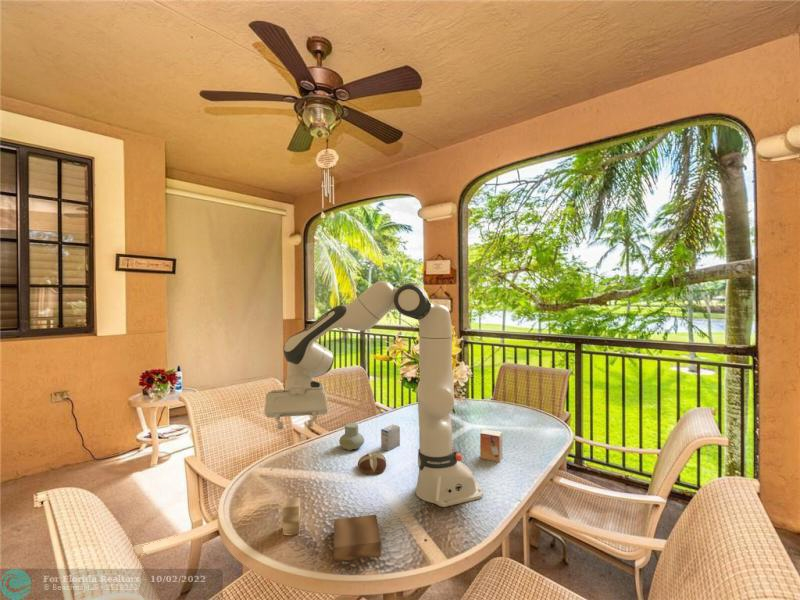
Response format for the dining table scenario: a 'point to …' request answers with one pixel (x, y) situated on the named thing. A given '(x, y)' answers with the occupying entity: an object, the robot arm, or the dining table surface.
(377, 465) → the bread
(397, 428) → the medicine box
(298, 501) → the maple block
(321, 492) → the dining table surface
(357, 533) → the walnut base block
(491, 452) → the small box
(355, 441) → the air freshener
